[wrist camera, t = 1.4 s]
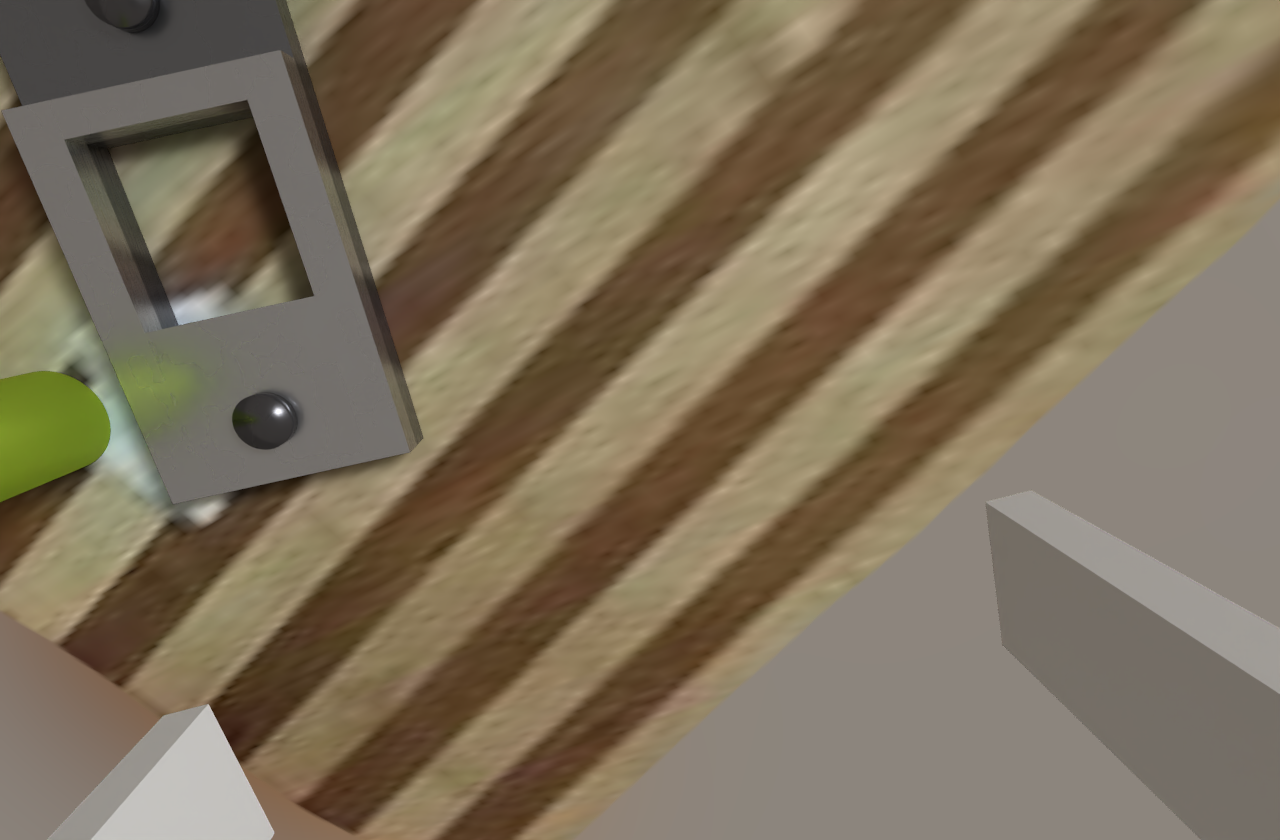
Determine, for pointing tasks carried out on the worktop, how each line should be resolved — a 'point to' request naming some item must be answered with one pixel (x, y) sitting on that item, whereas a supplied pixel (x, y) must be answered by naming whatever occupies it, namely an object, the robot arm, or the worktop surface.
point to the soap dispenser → (47, 429)
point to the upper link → (237, 343)
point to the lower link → (146, 48)
